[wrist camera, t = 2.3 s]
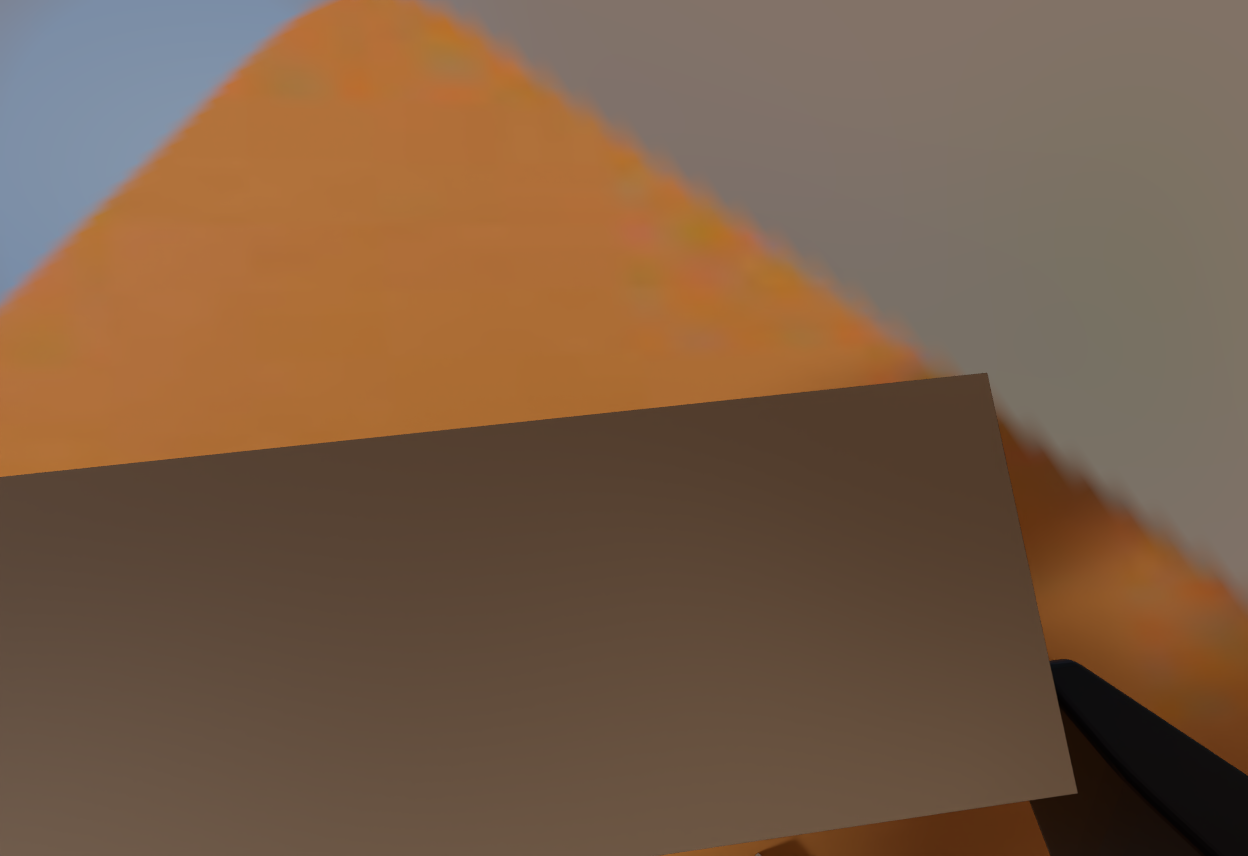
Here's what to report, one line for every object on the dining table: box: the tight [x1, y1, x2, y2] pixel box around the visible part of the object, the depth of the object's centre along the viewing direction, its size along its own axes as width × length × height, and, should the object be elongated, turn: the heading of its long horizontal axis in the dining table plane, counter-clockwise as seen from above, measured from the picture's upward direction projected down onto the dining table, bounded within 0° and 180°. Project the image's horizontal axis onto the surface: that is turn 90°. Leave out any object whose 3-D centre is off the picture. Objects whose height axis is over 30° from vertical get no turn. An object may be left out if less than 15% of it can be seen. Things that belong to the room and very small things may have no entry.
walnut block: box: [0, 373, 1078, 856], centre depth 11 cm, size 2×6×12 cm, turn 97°
